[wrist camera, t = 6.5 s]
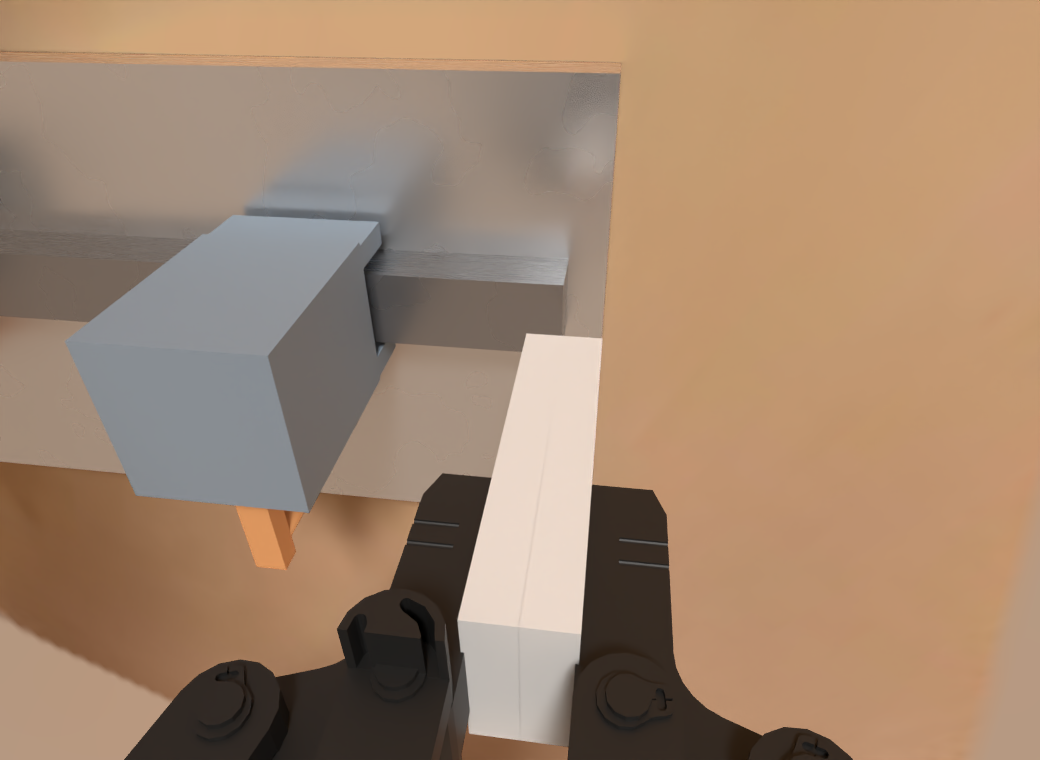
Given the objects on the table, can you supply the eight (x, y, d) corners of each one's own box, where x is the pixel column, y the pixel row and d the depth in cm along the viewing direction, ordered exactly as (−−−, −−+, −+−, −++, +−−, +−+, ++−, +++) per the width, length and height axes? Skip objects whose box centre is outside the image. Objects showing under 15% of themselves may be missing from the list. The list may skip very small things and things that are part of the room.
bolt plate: (-316, 46, 19) (-778, 117, 13) (621, 62, 16) (612, 167, 10) (-65, 433, 27) (-274, 592, 21) (590, 493, 24) (575, 701, 18)
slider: (231, 211, 18) (64, 341, 13) (378, 218, 18) (267, 356, 12) (287, 424, 22) (178, 588, 17) (407, 434, 22) (333, 606, 16)
